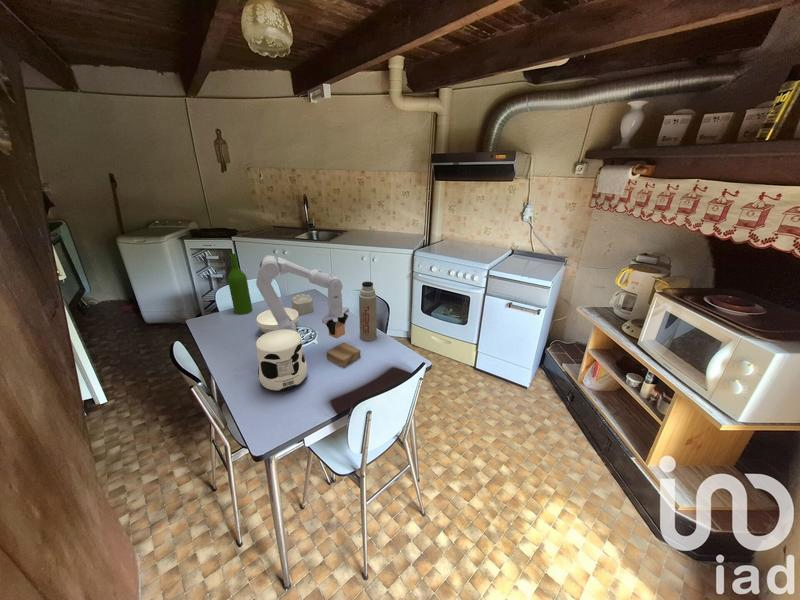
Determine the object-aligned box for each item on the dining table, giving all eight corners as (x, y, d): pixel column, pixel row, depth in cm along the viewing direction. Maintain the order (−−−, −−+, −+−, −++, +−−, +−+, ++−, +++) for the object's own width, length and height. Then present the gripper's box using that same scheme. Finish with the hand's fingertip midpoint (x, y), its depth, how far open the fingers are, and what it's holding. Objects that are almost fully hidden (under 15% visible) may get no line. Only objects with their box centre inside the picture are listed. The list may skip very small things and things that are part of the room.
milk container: (282, 362, 128) (276, 324, 121) (317, 372, 123) (313, 333, 116) (249, 387, 113) (241, 345, 106) (287, 400, 108) (281, 357, 101)
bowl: (305, 324, 159) (304, 308, 156) (290, 343, 142) (288, 326, 139) (271, 321, 161) (268, 306, 158) (251, 340, 144) (248, 323, 140)
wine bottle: (255, 310, 172) (245, 253, 159) (240, 316, 165) (229, 257, 152) (246, 306, 176) (235, 251, 163) (231, 312, 169) (219, 254, 156)
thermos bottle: (370, 343, 144) (370, 287, 133) (356, 338, 148) (355, 284, 136) (379, 335, 151) (379, 282, 140) (365, 331, 154) (365, 278, 143)
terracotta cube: (337, 338, 134) (336, 328, 132) (328, 335, 136) (328, 325, 134) (345, 334, 137) (344, 324, 135) (336, 330, 140) (336, 320, 138)
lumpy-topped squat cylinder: (296, 316, 167) (294, 302, 164) (290, 307, 177) (288, 293, 174) (315, 312, 172) (313, 298, 169) (308, 304, 182) (306, 290, 179)
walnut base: (343, 368, 126) (343, 360, 125) (327, 359, 132) (326, 352, 130) (360, 358, 134) (360, 350, 132) (344, 350, 139) (343, 342, 137)
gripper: (329, 312, 123) (331, 341, 129) (353, 300, 134) (354, 328, 140) (317, 307, 127) (319, 336, 132) (341, 296, 138) (343, 323, 143)
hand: (336, 331), depth 136 cm, fingers closed on terracotta cube, 5 cm apart
